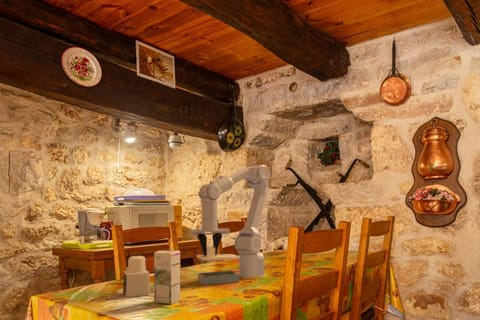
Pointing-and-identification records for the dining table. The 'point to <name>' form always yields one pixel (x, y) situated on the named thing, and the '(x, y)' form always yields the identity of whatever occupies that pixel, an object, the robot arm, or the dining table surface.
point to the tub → (218, 278)
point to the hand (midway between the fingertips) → (209, 255)
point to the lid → (212, 255)
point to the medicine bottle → (136, 277)
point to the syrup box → (166, 277)
